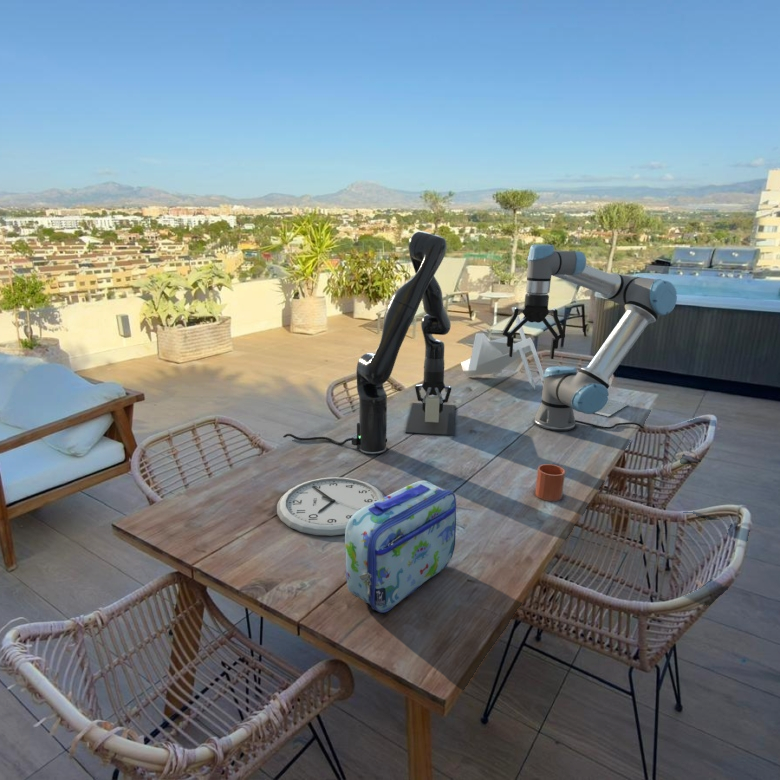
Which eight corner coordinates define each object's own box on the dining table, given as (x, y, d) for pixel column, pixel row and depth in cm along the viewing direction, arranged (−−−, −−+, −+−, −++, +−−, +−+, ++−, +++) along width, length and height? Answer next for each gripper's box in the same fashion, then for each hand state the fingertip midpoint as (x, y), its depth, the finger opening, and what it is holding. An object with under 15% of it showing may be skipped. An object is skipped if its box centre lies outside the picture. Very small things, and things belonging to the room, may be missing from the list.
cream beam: (440, 400, 220) (441, 380, 217) (438, 422, 195) (439, 399, 192) (428, 399, 220) (429, 379, 218) (424, 421, 196) (425, 399, 193)
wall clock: (392, 527, 129) (269, 531, 127) (392, 533, 130) (269, 537, 127) (383, 473, 158) (282, 475, 155) (383, 478, 158) (283, 480, 156)
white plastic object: (482, 418, 267) (461, 395, 242) (463, 346, 289) (443, 318, 265) (552, 394, 255) (538, 367, 230) (527, 321, 277) (512, 289, 252)
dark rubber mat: (454, 406, 224) (454, 405, 224) (454, 436, 192) (454, 435, 192) (412, 403, 226) (412, 402, 226) (405, 433, 194) (405, 432, 194)
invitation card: (608, 416, 214) (573, 407, 224) (608, 416, 214) (573, 407, 224) (627, 404, 229) (594, 396, 238) (627, 405, 229) (594, 397, 239)
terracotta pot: (559, 489, 154) (562, 464, 151) (564, 502, 147) (567, 476, 144) (533, 487, 154) (536, 463, 152) (537, 500, 147) (540, 474, 145)
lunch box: (374, 626, 100) (375, 530, 93) (338, 598, 107) (337, 508, 101) (459, 568, 117) (465, 484, 111) (424, 547, 124) (427, 467, 118)
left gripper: (453, 366, 197) (451, 409, 202) (415, 365, 198) (414, 407, 203) (453, 372, 189) (451, 416, 194) (413, 370, 191) (412, 414, 196)
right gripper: (574, 293, 172) (566, 356, 179) (497, 291, 175) (492, 352, 181) (579, 296, 165) (571, 361, 172) (499, 293, 168) (494, 358, 174)
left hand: (432, 411), depth 199 cm, fingers closed on cream beam, 5 cm apart
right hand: (530, 357), depth 176 cm, fingers open, 13 cm apart
